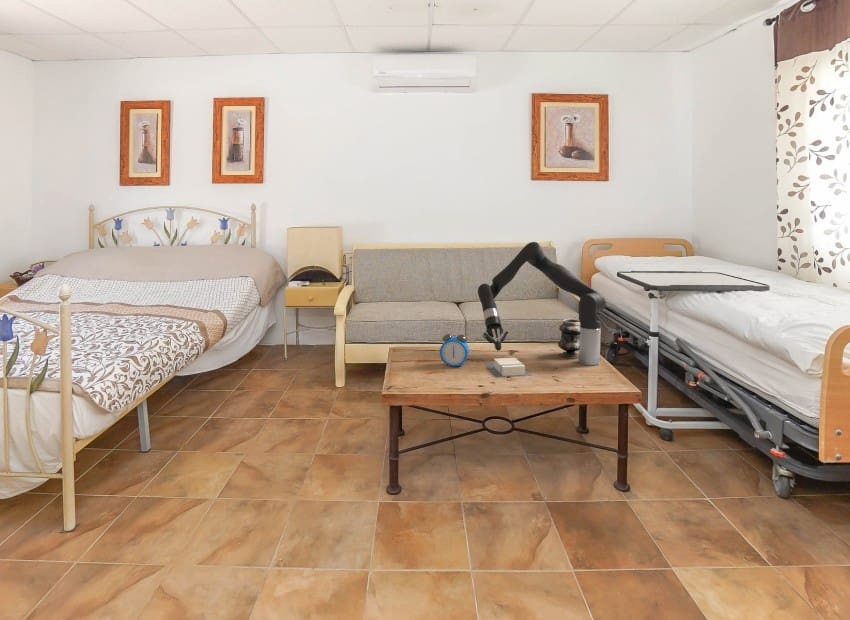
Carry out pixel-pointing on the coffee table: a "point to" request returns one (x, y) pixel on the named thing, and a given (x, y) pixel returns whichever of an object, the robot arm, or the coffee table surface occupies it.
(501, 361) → the box
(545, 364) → the coffee table surface
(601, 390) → the coffee table surface
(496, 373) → the mat
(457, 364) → the alarm clock
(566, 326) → the apothecary jar
